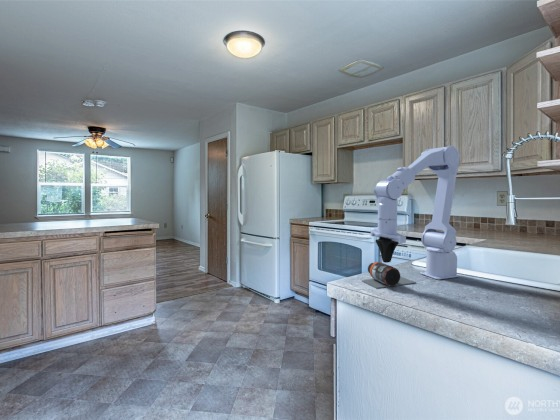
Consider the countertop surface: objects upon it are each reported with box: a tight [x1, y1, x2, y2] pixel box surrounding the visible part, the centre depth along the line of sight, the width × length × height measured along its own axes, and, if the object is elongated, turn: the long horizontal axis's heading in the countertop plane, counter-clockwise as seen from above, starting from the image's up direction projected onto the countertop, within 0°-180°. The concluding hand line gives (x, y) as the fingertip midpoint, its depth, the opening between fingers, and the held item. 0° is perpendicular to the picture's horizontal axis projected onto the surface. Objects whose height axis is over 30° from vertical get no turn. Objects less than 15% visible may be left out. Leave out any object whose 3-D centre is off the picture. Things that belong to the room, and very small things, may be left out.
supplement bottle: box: [367, 261, 401, 287], centre depth 101 cm, size 6×6×11 cm
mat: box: [361, 275, 417, 289], centre depth 102 cm, size 15×8×1 cm, turn 109°
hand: (386, 262), depth 98 cm, fingers closed
